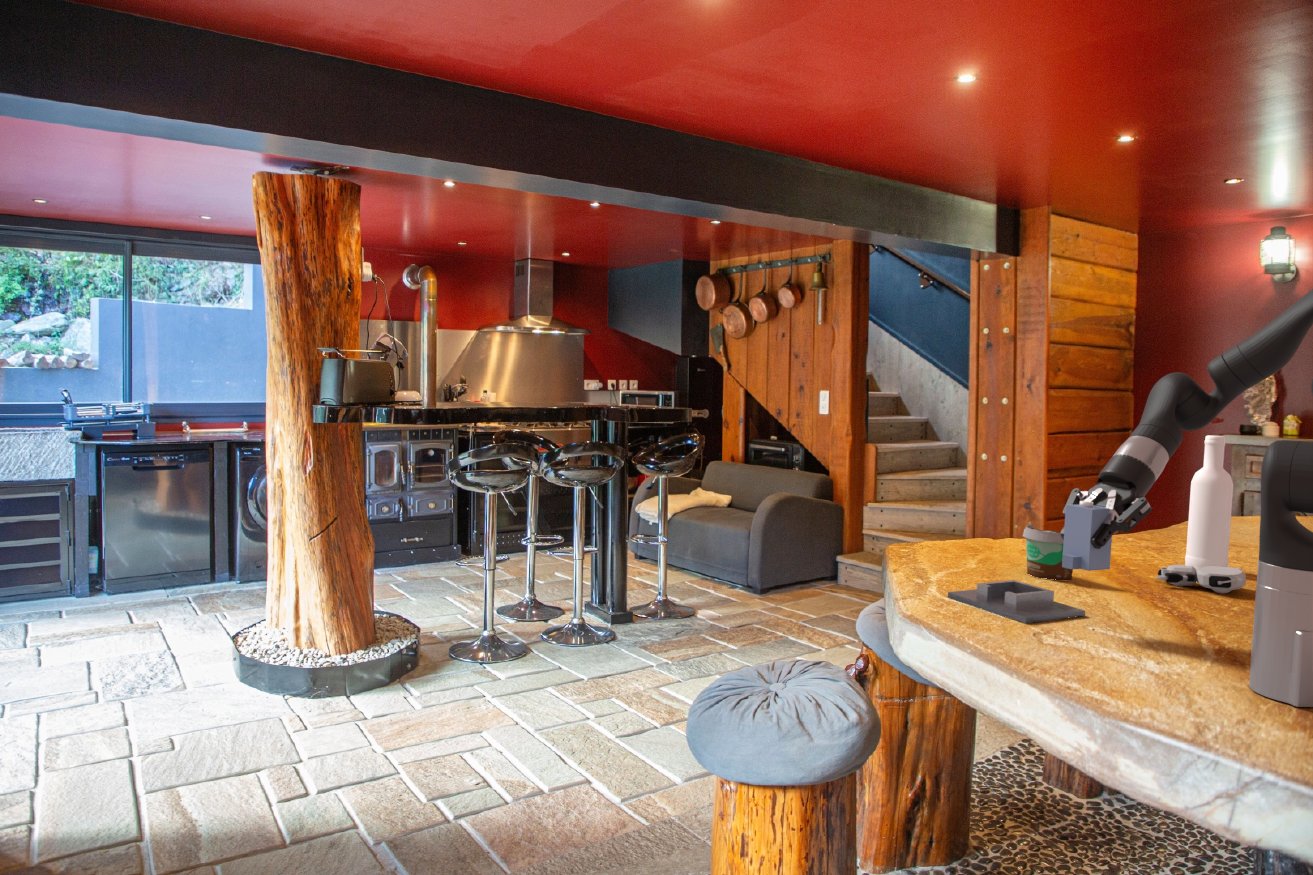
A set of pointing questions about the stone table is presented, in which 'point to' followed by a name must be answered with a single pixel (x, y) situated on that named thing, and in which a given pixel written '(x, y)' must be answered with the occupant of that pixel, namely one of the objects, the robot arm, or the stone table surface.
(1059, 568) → the food container
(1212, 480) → the bottle
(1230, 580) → the robot toy
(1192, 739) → the stone table surface
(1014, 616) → the plate
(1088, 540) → the block
